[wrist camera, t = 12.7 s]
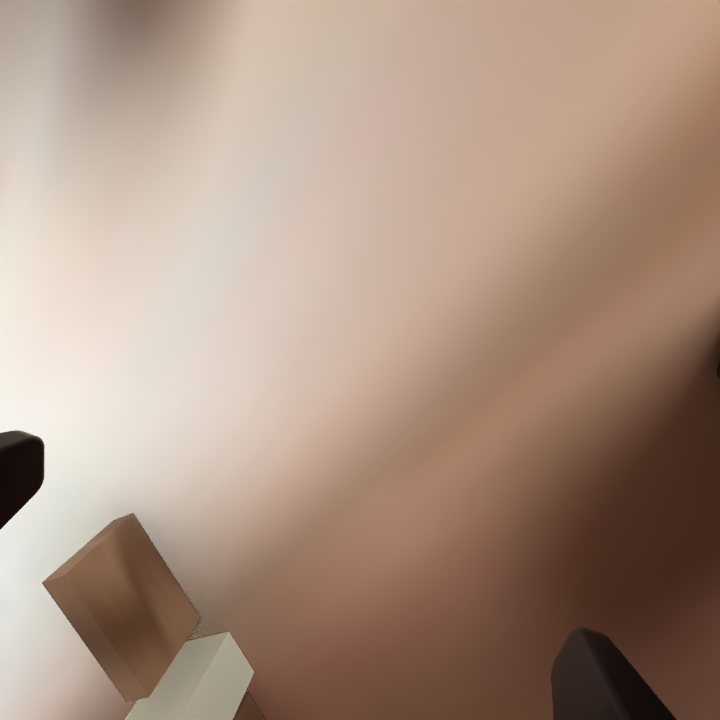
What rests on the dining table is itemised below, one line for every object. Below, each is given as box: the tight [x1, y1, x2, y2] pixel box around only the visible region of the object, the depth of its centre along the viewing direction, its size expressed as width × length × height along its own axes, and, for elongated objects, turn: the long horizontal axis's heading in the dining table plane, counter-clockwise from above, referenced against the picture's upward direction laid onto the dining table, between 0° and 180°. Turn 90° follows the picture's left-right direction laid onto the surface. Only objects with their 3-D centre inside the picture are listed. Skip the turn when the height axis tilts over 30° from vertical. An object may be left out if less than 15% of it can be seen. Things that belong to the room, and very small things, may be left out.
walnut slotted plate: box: [42, 514, 266, 720], centre depth 24 cm, size 20×2×4 cm, turn 26°
